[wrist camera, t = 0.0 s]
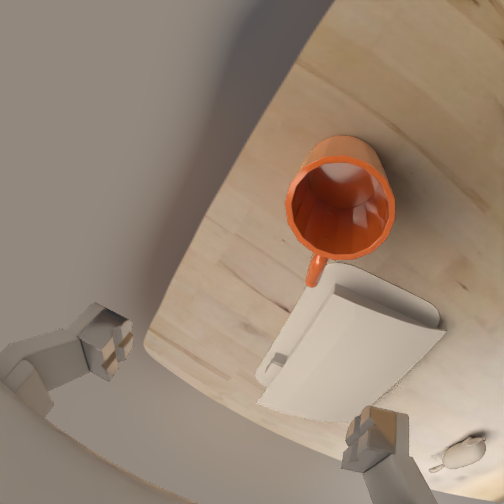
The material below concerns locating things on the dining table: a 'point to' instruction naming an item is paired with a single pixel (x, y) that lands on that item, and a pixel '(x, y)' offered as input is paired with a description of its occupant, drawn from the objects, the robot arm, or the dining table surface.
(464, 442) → the cream rounded piece
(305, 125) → the dining table surface
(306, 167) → the cup
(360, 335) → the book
